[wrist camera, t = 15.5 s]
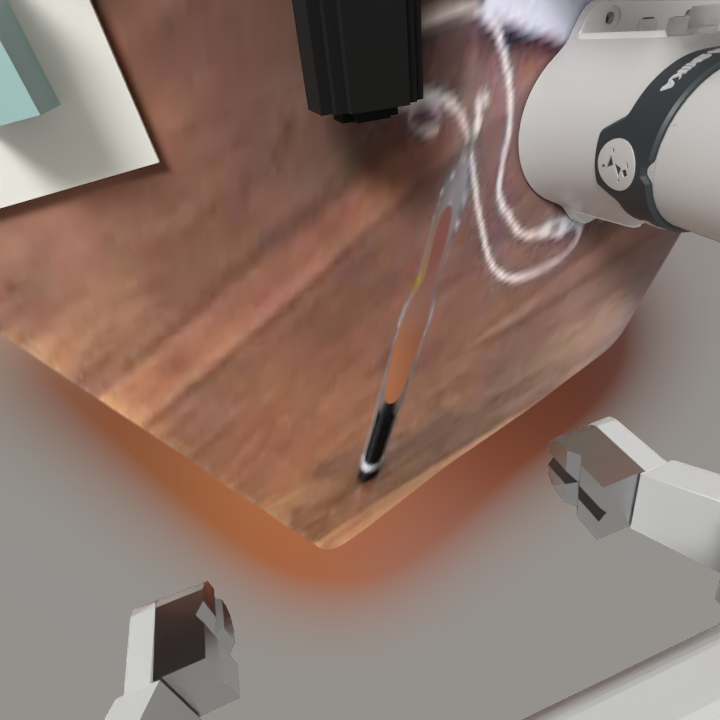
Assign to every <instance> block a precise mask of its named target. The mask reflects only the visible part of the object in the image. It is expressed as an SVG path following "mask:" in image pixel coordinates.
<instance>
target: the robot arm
mask: <svg viewBox="0 0 720 720" xmlns="http://www.w3.org/2000/svg"><path fill="white" fill-rule="evenodd" d="M607 14H608V15H609V18H608V21H607V23H606V16H607ZM519 158H520V163H521V167H522V170H523V173H524V175H525V178H526V180H527V181H528V183H529V185H530V186H531V187H532V189H533V190H534V191H535V192H536V193H537V194H539V195H540V196H541V197H543V198H545V199H547V200H549V201H551V202H554V203H556V204H558V205H560V206H562V207H563V209H564V210H565V212H566V213H567V214H568V216H569V217H570V218H571V219H572V220H573V221H575V222H578V223H582V224H585V223H588V222H590V221H592V220H594V219H596V218H598V219H602V220H605V221H609V222H612V223H616V224H620V225H623V226H627V227H632V228H636V227H640V226H641V224H644V223H647V224H648V225H650V226H653V227H656V228H660V229H663V230H665V229H666V230H670V231H674V232H693V233H696V234H698V235H701V236H704V237H707V238H710V239H712V240H715V241H718V242H720V0H594V1H591V2H590V3H588V4H587V5H586V6H585V8H584V9H583V10H582V12H581V14H580V15H579V17H578V19H577V21H576V23H575V26H574V28H573V30H572V32H571V34H570V37H569V39H568V41H567V42H566V44H565V45H564V46H563V48H562V49H561V50H560V51H559V53H558V54H557V55H556V56H555V57H554V58H553V59H552V61H551V62H550V63H549V64H548V65H547V67H546V68H545V69H544V71H543V72H542V73H541V75H540V77H539V78H538V80H537V81H536V83H535V85H534V87H533V89H532V91H531V93H530V95H529V98H528V100H527V103H526V105H525V108H524V112H523V115H522V119H521V124H520V131H519ZM548 451H549V453H550V454H551V455H552V456H553V458H552V460H551V461H550V462H549V464H548V473H549V477H550V480H551V483H552V485H553V487H554V488H555V490H556V492H557V493H558V494H559V496H560V497H561V498H562V499H563V501H564V502H566V503H569V504H571V505H574V506H576V507H577V517H578V518H579V519H580V521H581V522H582V523H583V524H584V525H585V526H586V528H587V529H588V530H589V531H590V532H591V533H592V535H593V536H594V537H595V538H596V539H599V538H602V537H604V536H607V535H609V534H612V533H614V532H617V531H619V530H621V529H624V528H626V527H629V526H631V529H633V530H635V531H638V532H640V533H641V534H643V535H645V536H647V537H649V538H651V539H653V540H655V541H657V542H659V543H661V544H663V545H665V546H668V547H670V548H671V549H674V550H675V551H677V552H679V553H681V554H683V555H685V556H688V557H689V558H691V559H693V560H695V561H697V562H699V563H701V564H703V565H705V566H707V567H709V568H711V569H713V570H715V571H717V572H719V573H720V474H717V473H714V472H711V471H707V470H704V469H700V468H697V467H694V466H691V465H688V464H685V463H681V462H678V461H675V460H671V461H668V462H666V461H665V460H664V459H663V458H662V457H660V456H659V455H658V454H657V453H656V452H654V451H653V450H652V449H651V448H650V447H648V446H647V445H646V444H645V443H644V442H642V441H641V440H640V439H639V438H638V437H636V436H635V435H634V434H633V433H632V432H631V431H629V430H628V429H627V428H625V426H623V425H622V424H621V423H620V422H618V421H617V420H616V419H615V418H612V417H606V418H603V419H601V420H598V421H596V422H594V423H591V424H589V425H585V426H582V427H580V428H578V429H575V430H573V431H571V432H568V433H566V434H564V435H562V436H559V437H557V438H554V439H552V440H551V441H550V443H549V450H548ZM715 600H716V601H717V602H718V603H719V604H720V581H719V584H718V586H717V589H716V591H715ZM234 644H235V637H234V629H233V625H232V620H231V616H230V613H229V611H228V609H227V607H226V605H225V604H224V602H223V601H222V600H221V599H216V598H215V596H214V588H213V587H212V586H211V585H210V583H209V582H208V581H206V582H203V583H201V584H198V585H196V586H193V587H190V588H188V589H185V590H182V591H180V592H177V593H175V594H172V595H170V596H167V597H164V598H162V599H159V600H156V601H154V602H152V603H149V604H146V605H144V606H141V607H139V608H136V609H134V611H133V613H132V616H131V618H130V627H129V639H128V650H127V662H126V674H125V686H124V695H122V696H120V697H118V698H116V700H115V701H114V703H113V705H112V707H111V709H110V710H109V712H108V714H107V716H106V717H105V719H104V720H201V719H200V716H203V715H205V714H207V713H209V712H211V711H213V710H215V709H217V708H219V707H221V706H224V705H226V704H228V703H230V702H232V701H234V700H236V699H238V698H240V688H239V679H238V678H239V677H238V666H237V663H236V662H235V661H234V659H233V658H232V657H231V655H230V653H231V651H232V649H233V646H234ZM522 720H720V624H718V625H716V626H713V627H712V628H709V629H707V630H705V631H704V632H701V633H699V634H697V635H695V636H693V637H691V638H689V639H687V640H685V641H683V642H681V643H679V644H676V645H674V646H673V647H670V648H668V649H666V650H664V651H662V652H660V653H658V654H656V655H654V656H652V657H650V658H648V659H646V660H644V661H642V662H640V663H637V664H636V665H633V666H631V667H629V668H627V669H625V670H623V671H621V672H619V673H617V674H615V675H613V676H611V677H609V678H607V679H605V680H603V681H601V682H598V683H596V684H594V685H592V686H590V687H588V688H586V689H584V690H582V691H580V692H578V693H576V694H574V695H572V696H570V697H568V698H566V699H563V700H561V701H560V702H557V703H555V704H554V705H551V706H549V707H547V708H545V709H543V710H541V711H539V712H537V713H535V714H533V715H531V716H529V717H527V718H525V719H522Z"/></svg>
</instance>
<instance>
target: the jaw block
mask: <svg viewBox="0 0 720 720" xmlns="http://www.w3.org/2000/svg"><path fill="white" fill-rule="evenodd" d="M59 105H60V103H59V101H58V99H57V97H56V95H55V93H54V91H53V89H52V87H51V85H50V83H49V81H48V79H47V77H46V75H45V73H44V72H43V70H42V68H41V66H40V64H39V62H38V60H37V58H36V56H35V54H34V52H33V50H32V48H31V46H30V44H29V42H28V40H27V38H26V36H25V34H24V32H23V30H22V28H21V26H20V24H19V22H18V20H17V19H16V17H15V15H14V13H13V11H12V9H11V7H10V5H9V3H8V1H7V0H0V126H1V125H5V124H9V123H13V122H16V121H20V120H24V119H28V118H31V117H35V116H39V115H41V114H43V113H45V112H47V111H49V110H51V109H53V108H55V107H57V106H59Z"/></svg>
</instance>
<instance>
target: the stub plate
mask: <svg viewBox="0 0 720 720" xmlns="http://www.w3.org/2000/svg"><path fill="white" fill-rule="evenodd" d="M7 1H8V3H9V5H10V7H11V9H12V11H13V13H14V15H15V17H16V19H17V20H18V22H19V24H20V26H21V28H22V30H23V32H24V34H25V36H26V38H27V40H28V42H29V44H30V46H31V48H32V50H33V52H34V54H35V56H36V58H37V60H38V62H39V64H40V66H41V68H42V70H43V72H44V73H45V75H46V77H47V79H48V81H49V83H50V85H51V87H52V89H53V91H54V93H55V95H56V97H57V99H58V101H59V103H60V105H59V106H57V107H55V108H53V109H51V110H49V111H47V112H45V113H43V114H41V115H39V116H35V117H31V118H28V119H24V120H20V121H16V122H13V123H9V124H5V125H1V126H0V208H3V207H7V206H10V205H13V204H17V203H20V202H24V201H27V200H31V199H34V198H38V197H41V196H45V195H48V194H52V193H55V192H58V191H62V190H65V189H69V188H72V187H76V186H79V185H83V184H86V183H90V182H93V181H97V180H100V179H104V178H107V177H110V176H114V175H117V174H121V173H124V172H128V171H131V170H135V169H138V168H142V167H145V166H149V165H152V164H155V163H159V161H160V160H159V157H158V155H157V153H156V150H155V148H154V146H153V143H152V141H151V139H150V136H149V134H148V132H147V129H146V127H145V125H144V122H143V120H142V118H141V115H140V113H139V111H138V108H137V106H136V104H135V101H134V99H133V97H132V94H131V92H130V90H129V87H128V85H127V83H126V80H125V78H124V76H123V73H122V71H121V69H120V66H119V64H118V62H117V59H116V57H115V55H114V52H113V50H112V48H111V45H110V43H109V41H108V38H107V36H106V34H105V31H104V29H103V27H102V24H101V22H100V20H99V17H98V15H97V13H96V10H95V8H94V6H93V3H92V1H91V0H7Z"/></svg>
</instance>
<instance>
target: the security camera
mask: <svg viewBox="0 0 720 720" xmlns="http://www.w3.org/2000/svg"><path fill="white" fill-rule="evenodd" d="M292 4H293V11H294V17H295V24H296V31H297V37H298V44H299V50H300V57H301V64H302V70H303V77H304V84H305V90H306V97H307V104H308V109H309V110H311V111H313V112H315V113H317V114H319V115H321V116H323V115H329V114H333V115H334V120H337V121H339V122H341V123H349V122H356V123H361V122H367V121H373V120H379V119H385V118H390V117H391V115H396V114H398V107H400V106H406V105H410V103H412V102H417V100H419V99H423V71H422V40H421V9H420V0H292Z"/></svg>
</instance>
